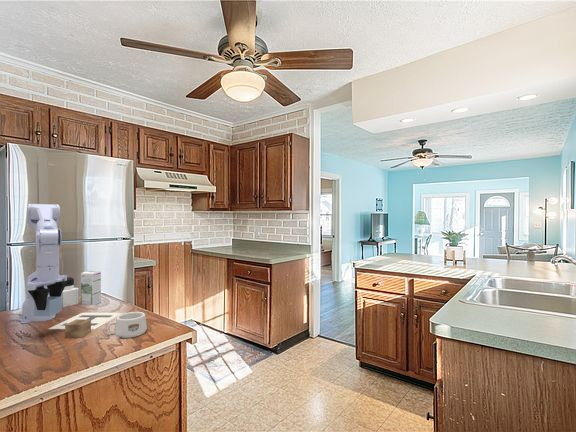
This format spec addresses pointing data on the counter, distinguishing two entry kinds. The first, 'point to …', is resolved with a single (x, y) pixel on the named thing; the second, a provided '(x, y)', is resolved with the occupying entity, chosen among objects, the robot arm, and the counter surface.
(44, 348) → the counter surface
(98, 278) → the syrup box
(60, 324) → the letter board
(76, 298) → the medicine bottle
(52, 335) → the counter surface
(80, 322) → the block
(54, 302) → the blue cube
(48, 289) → the robot arm
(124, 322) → the mug
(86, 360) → the counter surface
